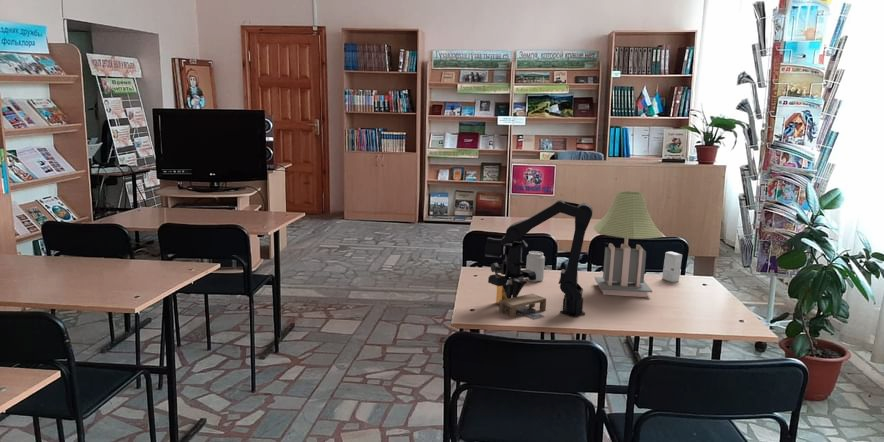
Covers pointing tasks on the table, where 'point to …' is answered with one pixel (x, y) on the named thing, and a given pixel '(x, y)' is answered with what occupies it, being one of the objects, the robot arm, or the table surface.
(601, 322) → the table surface
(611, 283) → the desk lamp
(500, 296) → the orange grey l-shaped block
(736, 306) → the table surface
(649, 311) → the table surface
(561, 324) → the table surface
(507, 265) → the robot arm
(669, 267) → the skincare box
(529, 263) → the can
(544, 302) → the small wooden bench
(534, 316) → the steel token
